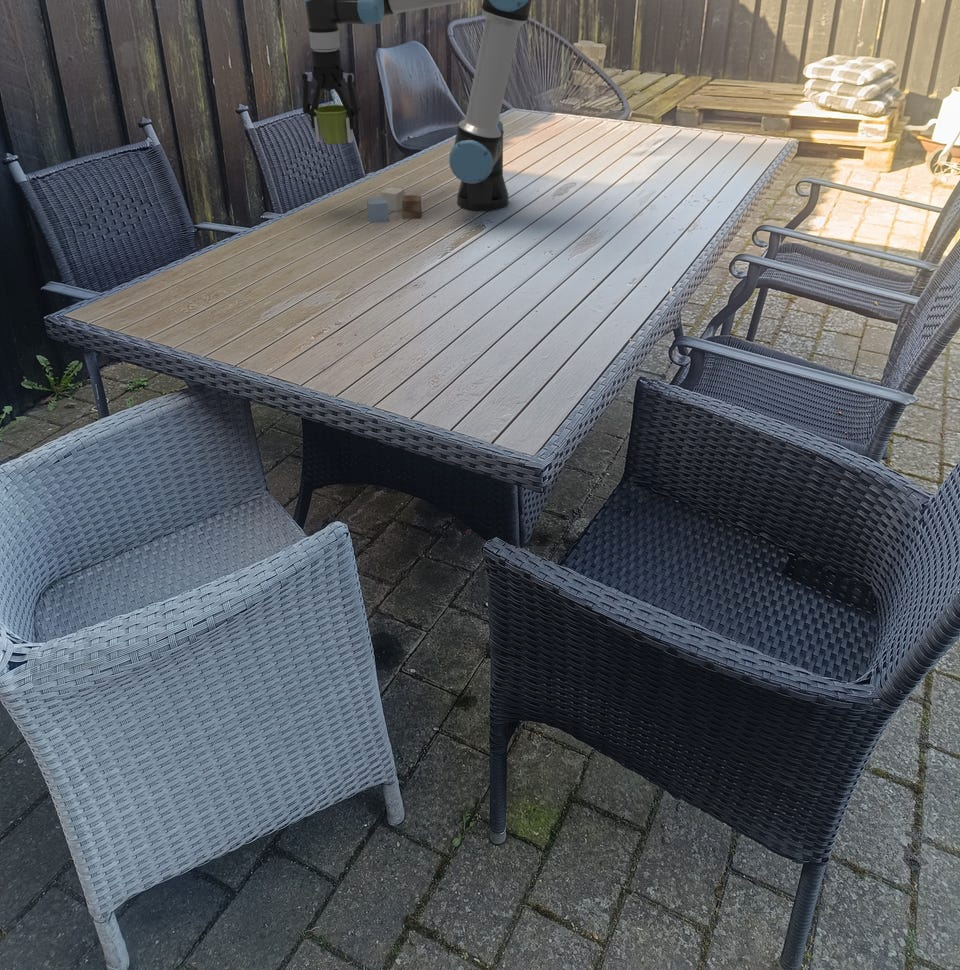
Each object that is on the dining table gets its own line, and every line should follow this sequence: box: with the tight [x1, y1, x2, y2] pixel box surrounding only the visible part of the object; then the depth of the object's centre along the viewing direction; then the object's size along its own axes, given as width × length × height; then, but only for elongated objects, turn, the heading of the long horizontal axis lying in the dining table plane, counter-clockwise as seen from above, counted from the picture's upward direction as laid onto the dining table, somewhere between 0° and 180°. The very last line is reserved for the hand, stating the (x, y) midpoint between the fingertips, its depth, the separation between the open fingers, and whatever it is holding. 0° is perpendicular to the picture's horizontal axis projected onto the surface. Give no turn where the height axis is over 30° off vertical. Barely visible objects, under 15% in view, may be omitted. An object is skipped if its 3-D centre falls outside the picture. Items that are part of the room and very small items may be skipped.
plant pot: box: [314, 104, 348, 146], centre depth 229 cm, size 9×9×9 cm
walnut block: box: [402, 194, 423, 220], centre depth 238 cm, size 5×5×5 cm
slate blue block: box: [365, 197, 389, 223], centre depth 236 cm, size 5×5×5 cm
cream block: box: [380, 187, 406, 212], centre depth 243 cm, size 5×5×5 cm
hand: (335, 141), depth 231 cm, fingers closed on plant pot, 8 cm apart
